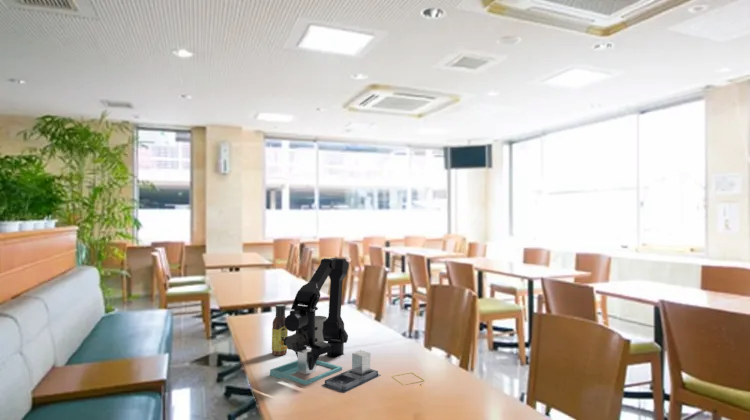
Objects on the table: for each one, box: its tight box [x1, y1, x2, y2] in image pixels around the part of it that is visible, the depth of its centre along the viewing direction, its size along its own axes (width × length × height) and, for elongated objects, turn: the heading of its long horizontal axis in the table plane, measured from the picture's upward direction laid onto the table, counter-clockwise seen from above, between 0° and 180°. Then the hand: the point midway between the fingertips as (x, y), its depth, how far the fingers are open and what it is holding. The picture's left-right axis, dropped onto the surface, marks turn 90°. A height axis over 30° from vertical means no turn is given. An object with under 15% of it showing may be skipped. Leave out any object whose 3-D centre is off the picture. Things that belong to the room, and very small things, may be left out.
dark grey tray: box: [321, 368, 382, 394], centre depth 152 cm, size 20×10×3 cm, turn 143°
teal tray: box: [269, 359, 343, 386], centre depth 160 cm, size 18×18×2 cm
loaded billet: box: [351, 349, 371, 377], centre depth 156 cm, size 4×4×8 cm
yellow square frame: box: [391, 372, 425, 386], centre depth 154 cm, size 9×9×2 cm
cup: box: [315, 315, 328, 343], centre depth 204 cm, size 8×8×10 cm
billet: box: [296, 348, 317, 375], centre depth 160 cm, size 4×4×8 cm
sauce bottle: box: [271, 303, 289, 356], centre depth 183 cm, size 7×6×20 cm
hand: (306, 368), depth 160 cm, fingers closed on billet, 4 cm apart
